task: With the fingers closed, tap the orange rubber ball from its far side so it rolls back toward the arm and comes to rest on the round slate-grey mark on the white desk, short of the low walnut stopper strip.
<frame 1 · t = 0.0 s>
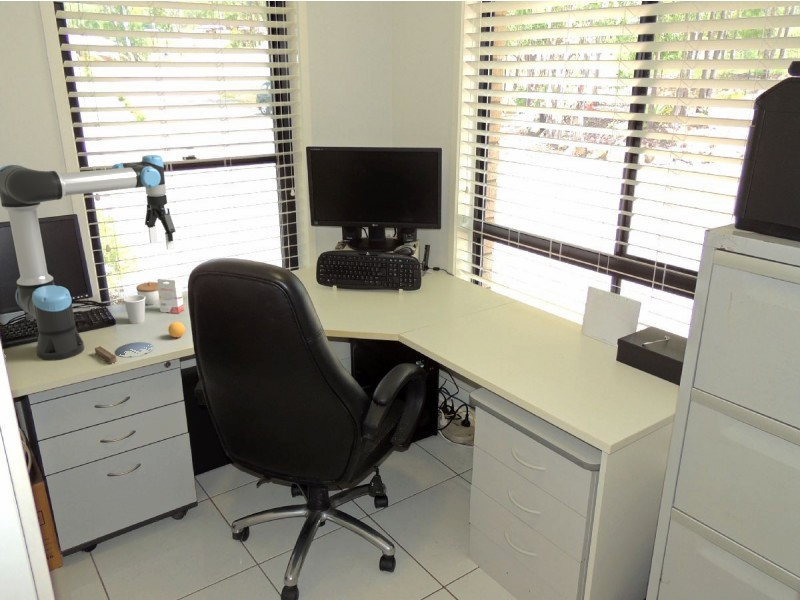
hand: (161, 245, 258), 28 cm above the table, tool pointing down, fingers open, 13 cm apart
dixie cup: (137, 321, 253), on the table
slate mark: (134, 349, 227), on the table
ball: (176, 329, 238), on the table
ink cartridge box: (172, 311, 265), on the table
stopper strip: (106, 358, 220), on the table
lidded jar: (151, 302, 274), on the table
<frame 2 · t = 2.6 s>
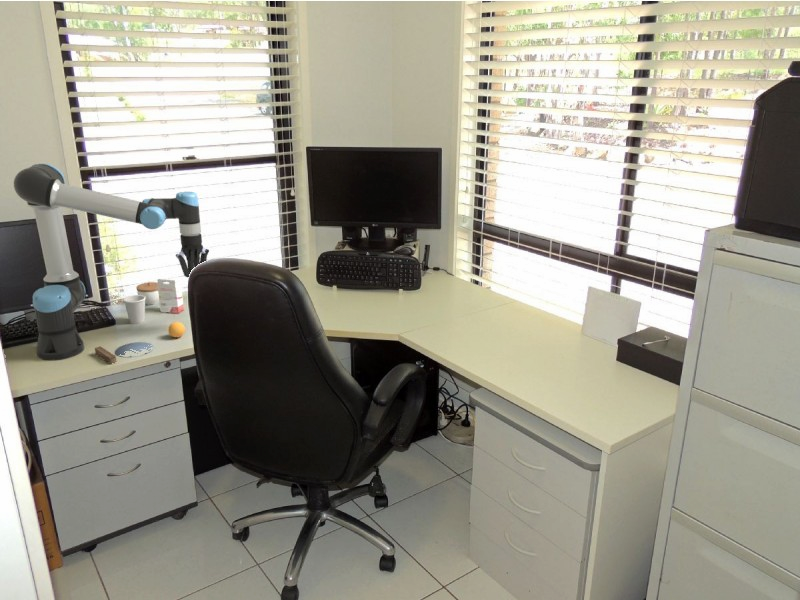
hand: (196, 293, 241), 15 cm above the table, tool pointing down, fingers closed
nothing on the table moved.
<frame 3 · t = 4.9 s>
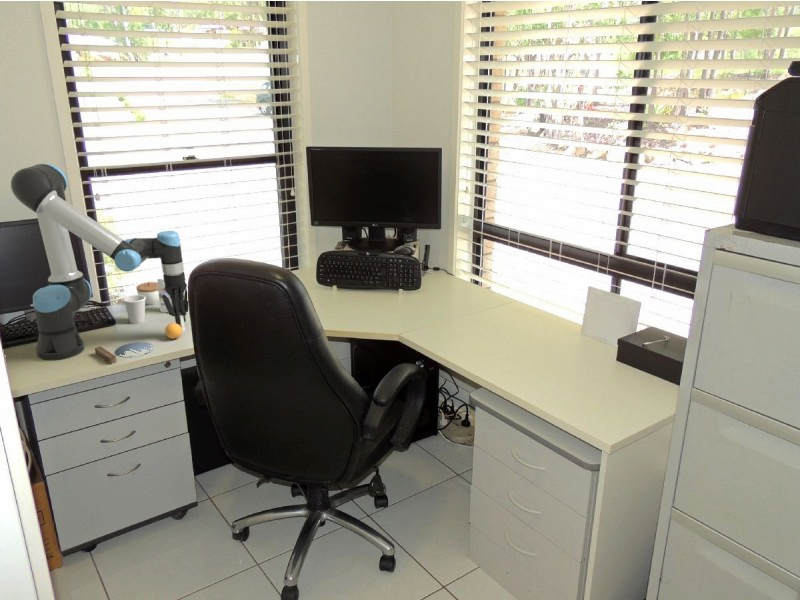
hand: (182, 330, 240), 2 cm above the table, tool pointing down, fingers closed
ball: (173, 330, 237), on the table, touching gripper
everything else where it was.
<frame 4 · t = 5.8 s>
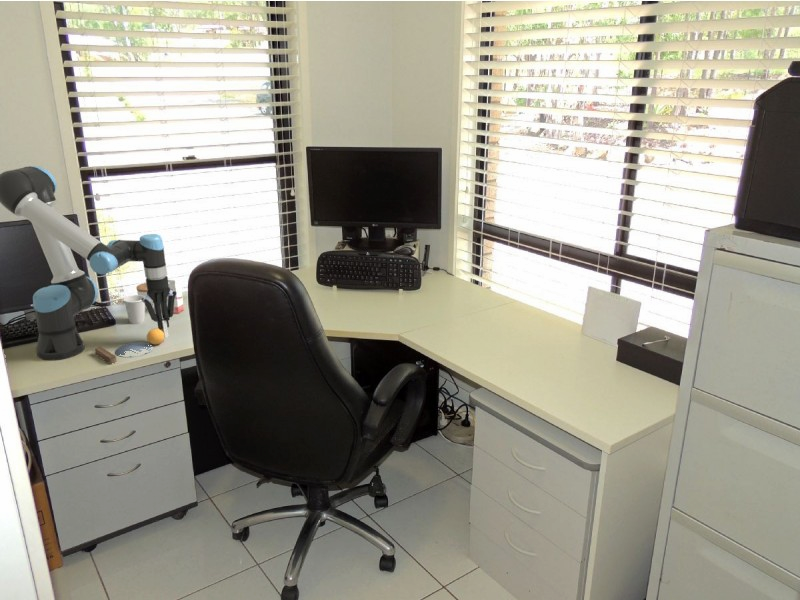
hand: (165, 336, 234), 2 cm above the table, tool pointing down, fingers closed
ball: (155, 336, 231), on the table, touching gripper
everything else where it was.
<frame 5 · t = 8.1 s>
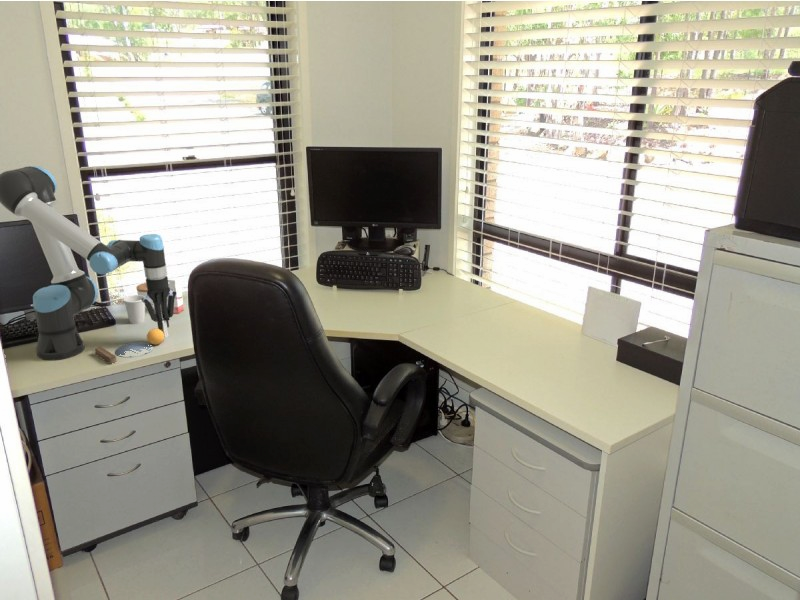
hand: (164, 336, 234), 2 cm above the table, tool pointing down, fingers closed
nothing on the table moved.
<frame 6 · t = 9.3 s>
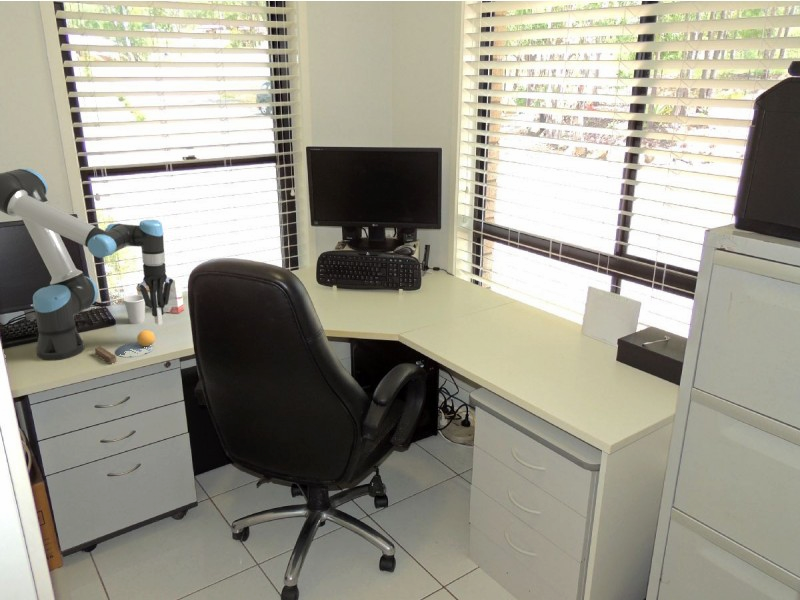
hand: (158, 323, 232), 7 cm above the table, tool pointing down, fingers closed
ball: (146, 338, 230), on the table
everything else where it was.
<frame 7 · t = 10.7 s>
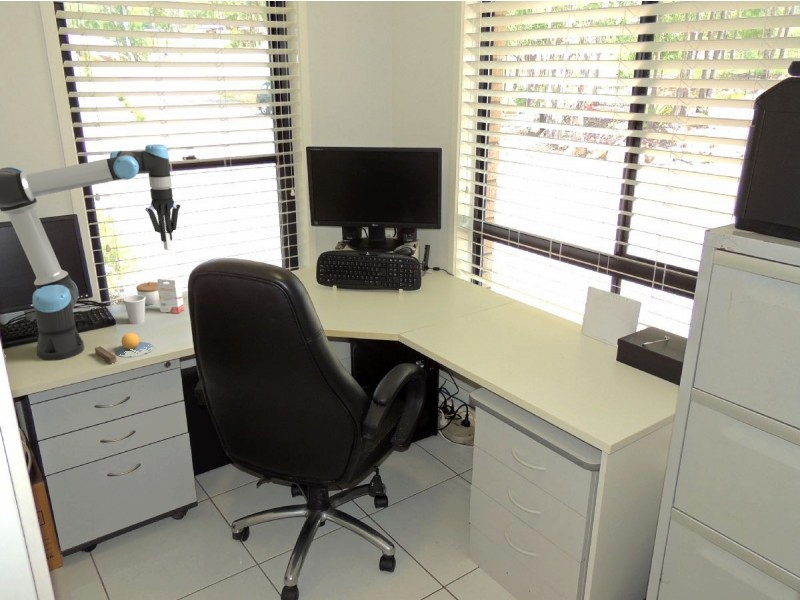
hand: (167, 249, 238), 32 cm above the table, tool pointing down, fingers closed
ball: (130, 341, 227), on the table
everything else where it was.
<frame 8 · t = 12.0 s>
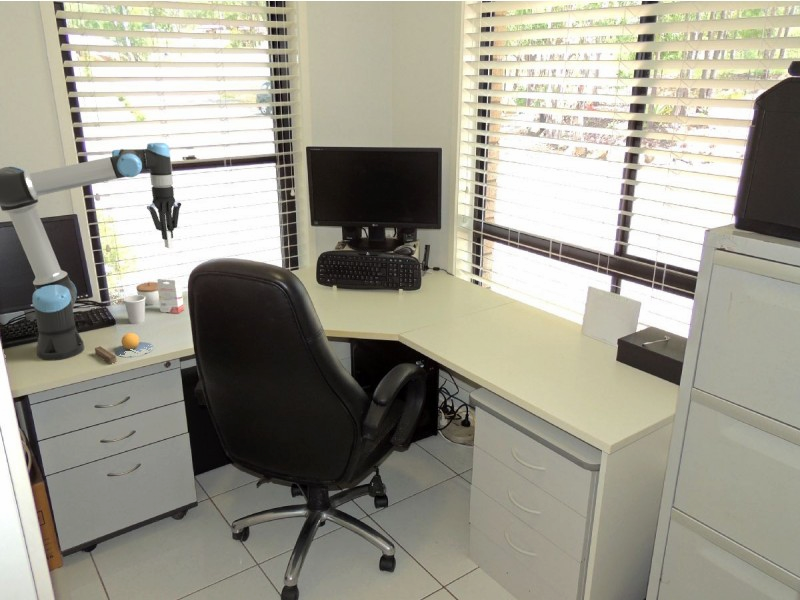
hand: (168, 247, 239), 32 cm above the table, tool pointing down, fingers closed
nothing on the table moved.
at the end: ball 1.8 cm from the slate mark (horizontally); ball at rest at the end (0.0 cm/s); ball moved 17.5 cm from its start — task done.
